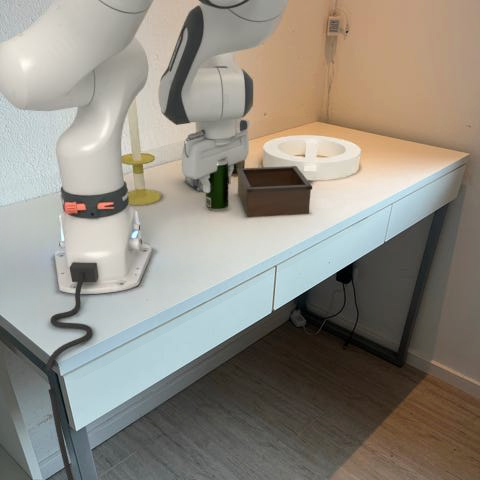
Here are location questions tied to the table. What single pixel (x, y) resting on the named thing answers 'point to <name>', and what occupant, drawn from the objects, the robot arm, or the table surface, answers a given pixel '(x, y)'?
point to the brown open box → (273, 191)
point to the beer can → (218, 188)
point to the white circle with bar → (313, 156)
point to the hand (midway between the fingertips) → (217, 187)
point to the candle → (138, 163)
